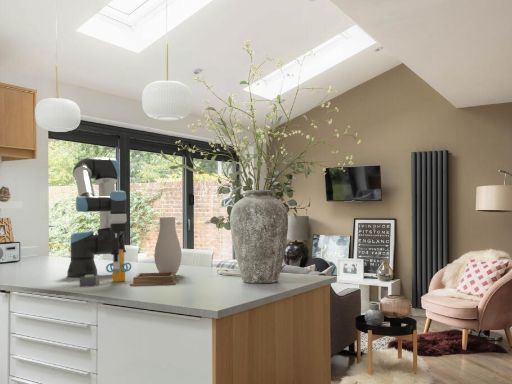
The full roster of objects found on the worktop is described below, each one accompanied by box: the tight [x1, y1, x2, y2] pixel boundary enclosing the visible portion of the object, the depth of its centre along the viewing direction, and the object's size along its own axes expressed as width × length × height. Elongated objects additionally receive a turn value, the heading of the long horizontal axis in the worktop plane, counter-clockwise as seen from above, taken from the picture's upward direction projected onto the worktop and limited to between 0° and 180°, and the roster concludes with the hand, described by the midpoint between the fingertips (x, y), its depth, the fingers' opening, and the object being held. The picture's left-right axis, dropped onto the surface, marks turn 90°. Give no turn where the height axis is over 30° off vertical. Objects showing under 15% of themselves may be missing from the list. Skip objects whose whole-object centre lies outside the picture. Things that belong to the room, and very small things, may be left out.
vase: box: [153, 216, 182, 275], centre depth 263 cm, size 14×14×30 cm
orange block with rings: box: [105, 249, 132, 283], centre depth 245 cm, size 12×10×15 cm
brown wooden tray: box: [129, 272, 179, 287], centre depth 237 cm, size 19×20×4 cm
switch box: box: [79, 274, 100, 288], centre depth 232 cm, size 7×7×4 cm
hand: (119, 267), depth 245 cm, fingers open, 13 cm apart
